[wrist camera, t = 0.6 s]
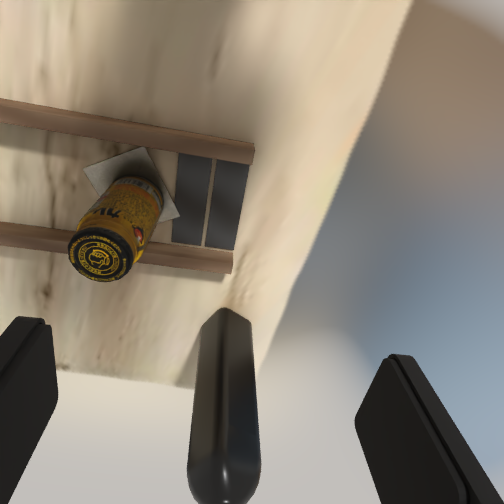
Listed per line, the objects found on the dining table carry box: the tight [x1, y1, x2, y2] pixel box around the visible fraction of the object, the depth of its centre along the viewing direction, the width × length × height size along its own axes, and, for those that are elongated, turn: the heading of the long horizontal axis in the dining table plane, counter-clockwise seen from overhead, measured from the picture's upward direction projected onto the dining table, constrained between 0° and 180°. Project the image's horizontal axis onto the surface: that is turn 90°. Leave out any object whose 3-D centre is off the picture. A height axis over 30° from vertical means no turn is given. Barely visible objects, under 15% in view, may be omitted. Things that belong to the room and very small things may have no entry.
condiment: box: [67, 147, 180, 282], centre depth 34 cm, size 7×8×12 cm
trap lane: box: [0, 98, 255, 274], centre depth 37 cm, size 15×30×3 cm, turn 79°
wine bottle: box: [187, 308, 261, 504], centre depth 37 cm, size 6×6×30 cm
